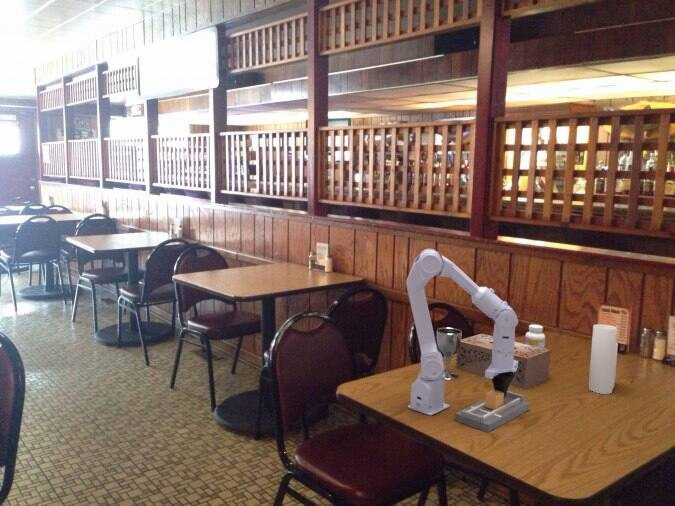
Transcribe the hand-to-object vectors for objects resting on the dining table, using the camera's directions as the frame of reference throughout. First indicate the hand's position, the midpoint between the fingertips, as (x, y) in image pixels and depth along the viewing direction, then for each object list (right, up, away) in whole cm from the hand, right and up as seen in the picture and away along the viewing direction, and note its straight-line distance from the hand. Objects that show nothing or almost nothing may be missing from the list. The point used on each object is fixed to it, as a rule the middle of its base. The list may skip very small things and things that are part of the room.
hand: (500, 397), depth 161 cm
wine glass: (-9, 0, +30) cm, 31 cm away
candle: (+37, -2, +21) cm, 42 cm away
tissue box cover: (+9, -1, +33) cm, 34 cm away
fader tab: (-2, -2, -2) cm, 4 cm away
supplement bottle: (+25, +1, +47) cm, 53 cm away
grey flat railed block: (-3, -4, -2) cm, 5 cm away
